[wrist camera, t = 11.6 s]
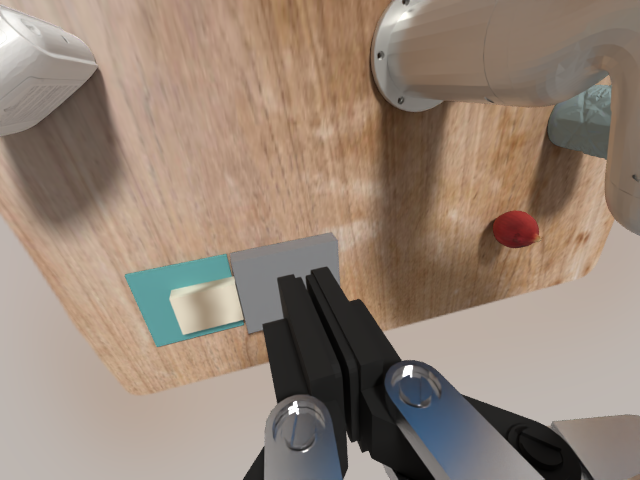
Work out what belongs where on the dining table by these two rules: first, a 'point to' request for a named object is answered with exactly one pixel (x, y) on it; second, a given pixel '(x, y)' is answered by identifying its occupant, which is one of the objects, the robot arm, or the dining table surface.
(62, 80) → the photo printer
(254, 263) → the grey flat slab
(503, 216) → the onion
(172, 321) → the teal mat
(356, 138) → the dining table surface
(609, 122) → the blue ceramic planter
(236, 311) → the birch tile
